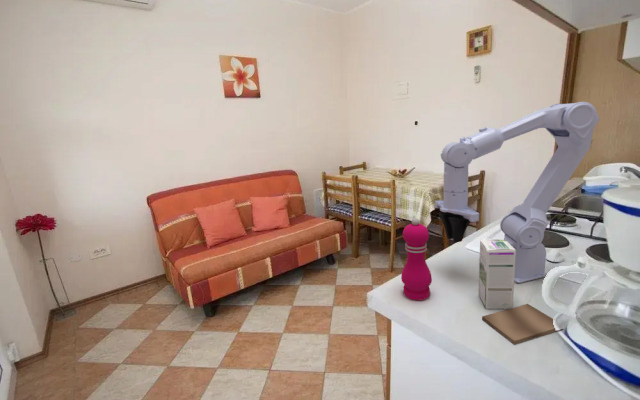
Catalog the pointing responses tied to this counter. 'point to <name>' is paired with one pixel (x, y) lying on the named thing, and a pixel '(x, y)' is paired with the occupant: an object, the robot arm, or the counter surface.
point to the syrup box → (496, 274)
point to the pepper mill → (416, 262)
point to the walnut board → (520, 323)
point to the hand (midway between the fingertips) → (454, 239)
